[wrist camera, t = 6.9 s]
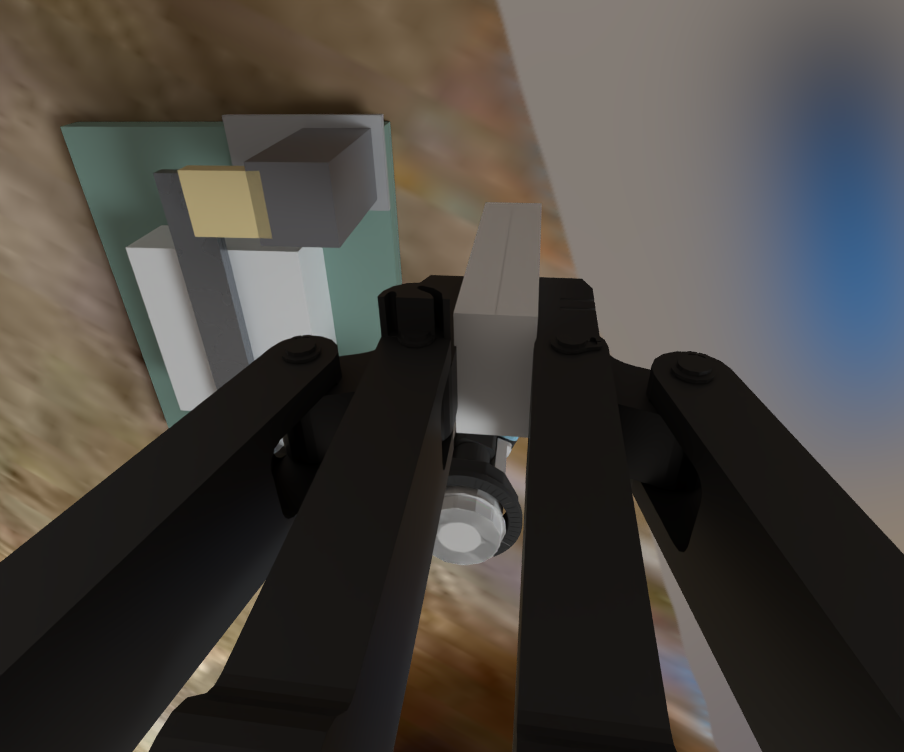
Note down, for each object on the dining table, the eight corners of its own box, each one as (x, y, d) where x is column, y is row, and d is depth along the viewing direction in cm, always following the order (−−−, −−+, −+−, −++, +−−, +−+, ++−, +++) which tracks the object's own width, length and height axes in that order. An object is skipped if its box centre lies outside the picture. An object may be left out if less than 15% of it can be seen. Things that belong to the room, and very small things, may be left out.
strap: (235, 457, 32) (227, 470, 32) (149, 167, 24) (135, 174, 23) (291, 461, 32) (284, 473, 31) (224, 168, 23) (213, 175, 23)
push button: (399, 411, 35) (355, 543, 26) (429, 340, 32) (391, 463, 23) (502, 450, 35) (491, 592, 27) (541, 384, 32) (542, 520, 24)
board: (181, 425, 37) (145, 469, 34) (73, 110, 27) (5, 127, 24) (413, 439, 36) (399, 488, 32) (389, 109, 26) (365, 127, 22)
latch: (260, 197, 27) (197, 244, 22) (246, 127, 25) (174, 161, 20) (377, 199, 26) (339, 248, 21) (370, 128, 25) (328, 162, 20)
